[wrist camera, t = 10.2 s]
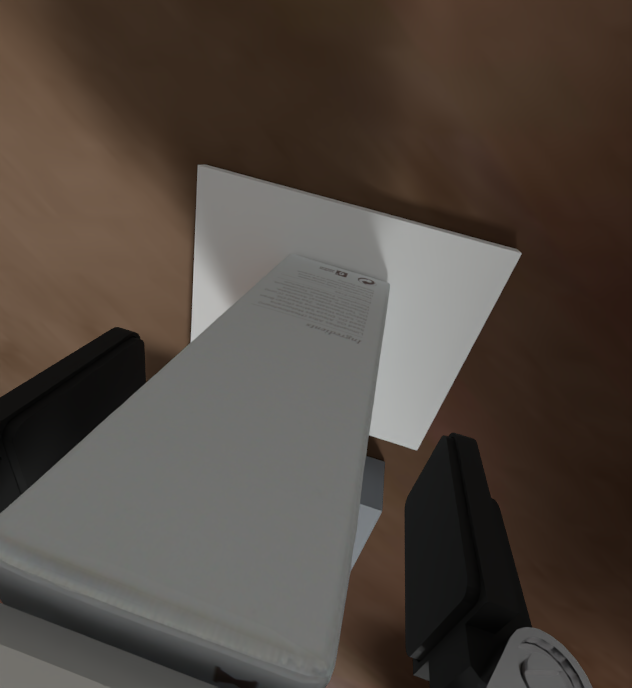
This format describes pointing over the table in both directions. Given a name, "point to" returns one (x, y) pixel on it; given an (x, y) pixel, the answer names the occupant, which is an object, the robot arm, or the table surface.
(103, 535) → the skincare box
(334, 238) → the white flat plate
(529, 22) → the table surface
